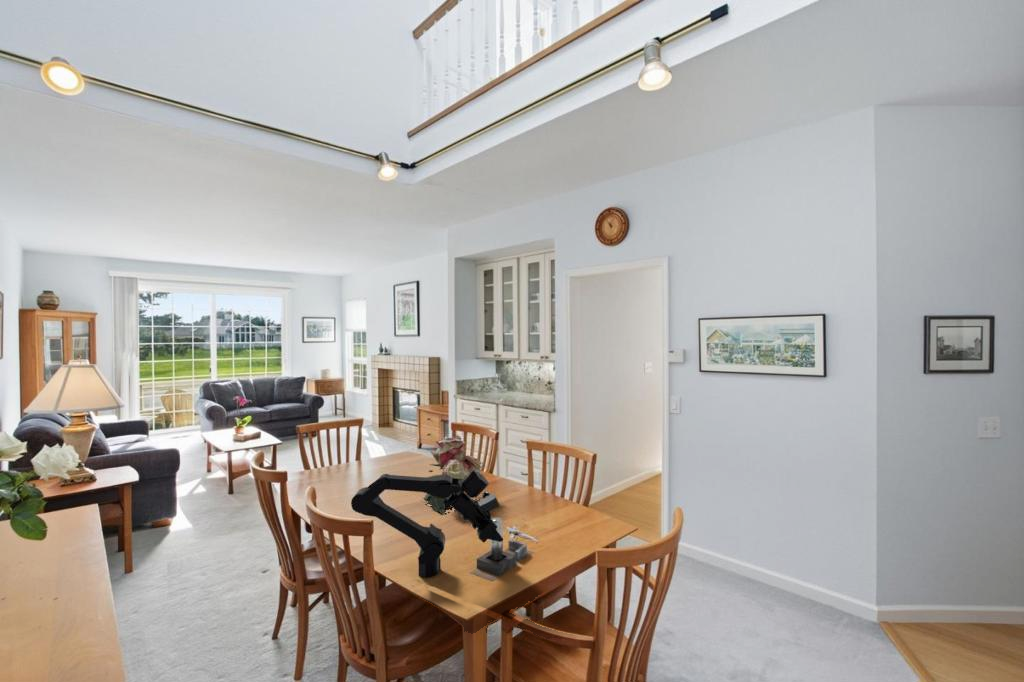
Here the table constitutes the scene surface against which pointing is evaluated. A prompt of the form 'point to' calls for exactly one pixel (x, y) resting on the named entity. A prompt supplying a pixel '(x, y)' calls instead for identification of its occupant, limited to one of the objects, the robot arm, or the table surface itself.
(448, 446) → the rose bouquet
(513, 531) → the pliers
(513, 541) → the block with square hole
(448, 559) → the table surface
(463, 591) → the table surface
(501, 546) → the axle
